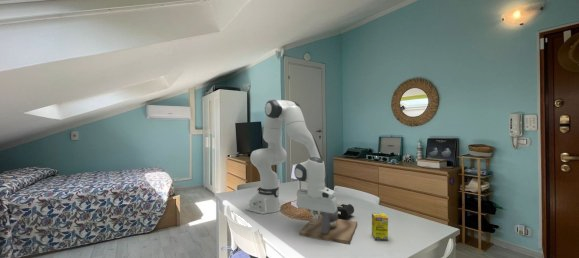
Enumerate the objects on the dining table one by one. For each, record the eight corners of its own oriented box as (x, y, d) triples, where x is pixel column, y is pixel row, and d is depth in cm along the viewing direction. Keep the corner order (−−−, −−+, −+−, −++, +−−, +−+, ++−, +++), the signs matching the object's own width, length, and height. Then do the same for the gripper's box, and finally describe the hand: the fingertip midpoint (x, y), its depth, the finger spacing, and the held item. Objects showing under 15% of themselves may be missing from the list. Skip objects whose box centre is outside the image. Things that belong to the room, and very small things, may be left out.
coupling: (324, 220, 131) (324, 205, 131) (339, 222, 128) (339, 207, 128) (316, 232, 117) (316, 214, 117) (332, 234, 114) (332, 217, 114)
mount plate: (299, 235, 120) (299, 223, 120) (314, 218, 142) (314, 208, 142) (349, 244, 110) (349, 232, 110) (357, 224, 132) (357, 214, 132)
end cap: (347, 221, 136) (347, 209, 136) (335, 218, 141) (335, 207, 141) (354, 216, 145) (354, 204, 144) (343, 213, 149) (343, 202, 149)
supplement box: (375, 240, 113) (375, 217, 113) (371, 235, 119) (371, 212, 119) (388, 241, 113) (388, 217, 113) (384, 235, 119) (384, 212, 119)
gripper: (294, 189, 123) (294, 217, 123) (334, 195, 113) (334, 225, 114) (299, 187, 128) (299, 213, 129) (338, 192, 119) (337, 220, 119)
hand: (316, 219), depth 121 cm, fingers closed
